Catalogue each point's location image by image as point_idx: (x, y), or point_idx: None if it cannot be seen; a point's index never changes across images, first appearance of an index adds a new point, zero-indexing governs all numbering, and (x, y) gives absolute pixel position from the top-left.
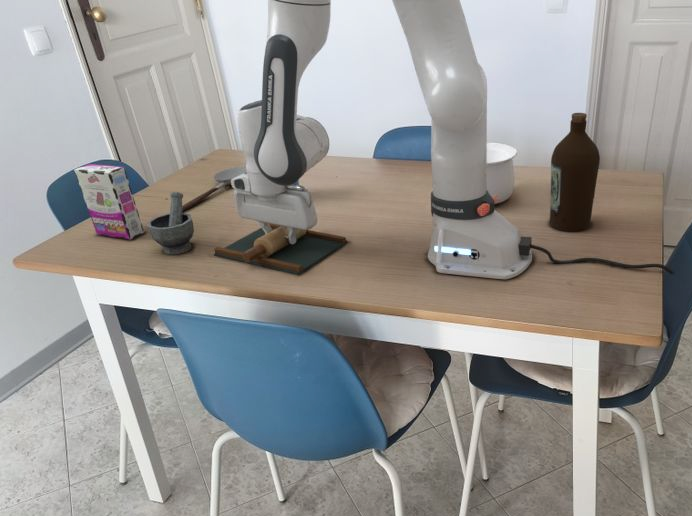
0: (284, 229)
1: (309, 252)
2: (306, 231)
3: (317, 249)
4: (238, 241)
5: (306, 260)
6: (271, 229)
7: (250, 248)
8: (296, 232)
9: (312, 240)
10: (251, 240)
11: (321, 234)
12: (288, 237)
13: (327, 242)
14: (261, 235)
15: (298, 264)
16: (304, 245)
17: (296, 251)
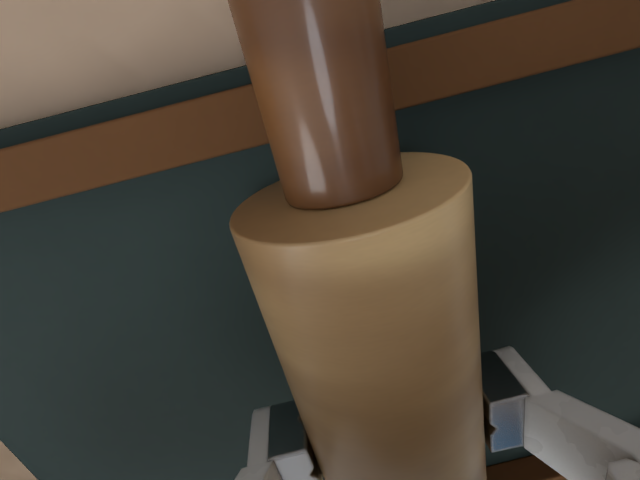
0: (465, 472)
1: (593, 293)
2: (435, 155)
3: (625, 234)
4: (49, 472)
5: (637, 362)
6: (271, 475)
7: (217, 468)
8: (595, 411)
9: (483, 148)
10: (93, 423)
11: (571, 52)
12: (525, 442)
13: (636, 91)
14: (43, 347)
15: (619, 407)
16: (488, 250)
17: (501, 335)
